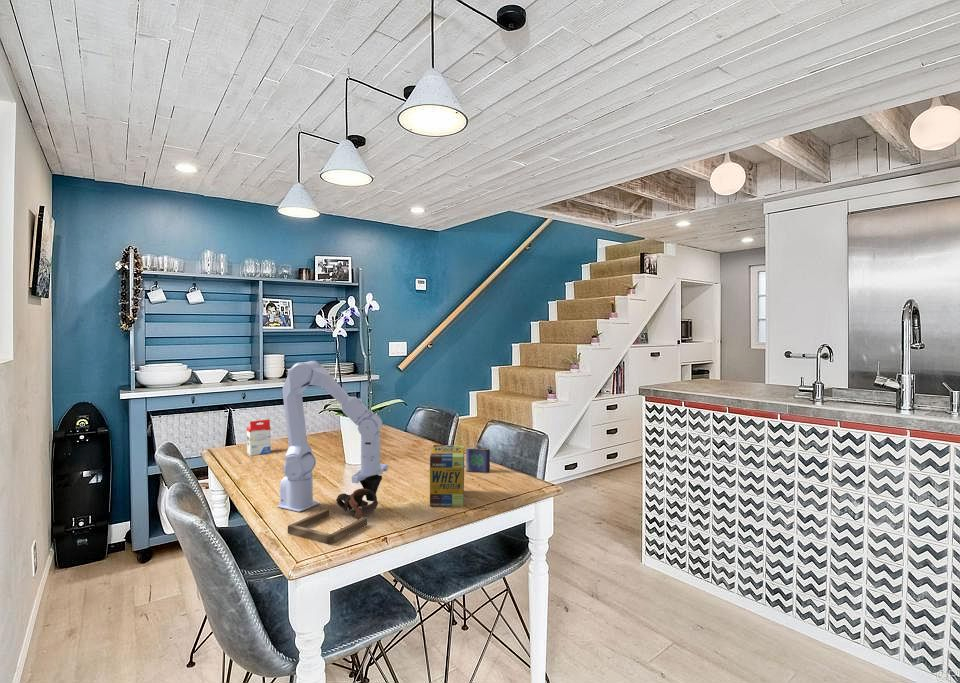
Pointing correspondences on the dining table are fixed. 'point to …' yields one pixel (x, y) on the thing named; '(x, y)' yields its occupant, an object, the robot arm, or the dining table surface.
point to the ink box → (258, 438)
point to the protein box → (447, 475)
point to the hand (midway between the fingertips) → (370, 500)
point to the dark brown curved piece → (357, 502)
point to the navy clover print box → (478, 459)
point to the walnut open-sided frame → (304, 532)
